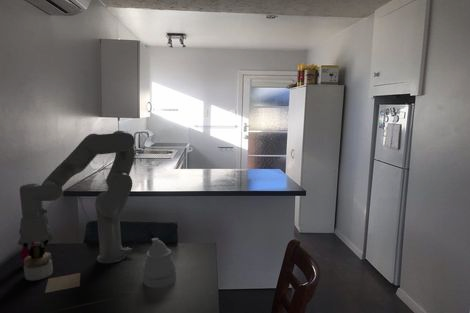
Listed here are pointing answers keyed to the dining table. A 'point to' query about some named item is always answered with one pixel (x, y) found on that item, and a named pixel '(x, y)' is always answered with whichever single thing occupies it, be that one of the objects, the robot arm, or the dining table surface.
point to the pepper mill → (25, 252)
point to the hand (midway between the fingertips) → (37, 256)
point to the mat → (63, 282)
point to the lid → (37, 257)
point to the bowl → (38, 270)
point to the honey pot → (159, 266)
